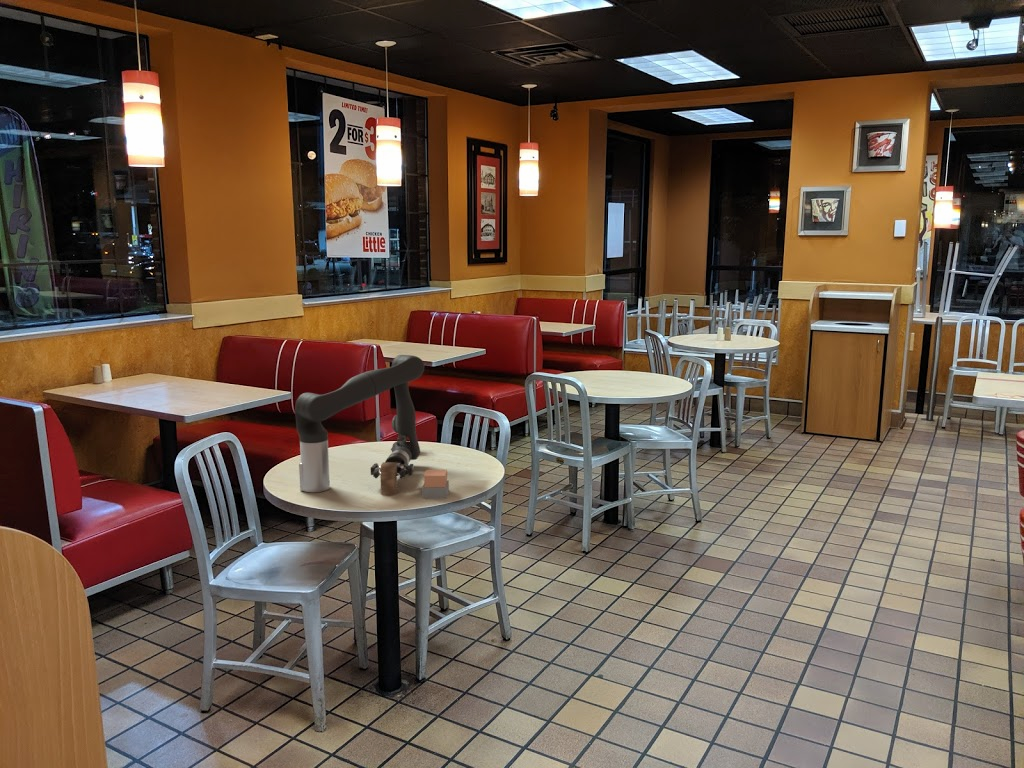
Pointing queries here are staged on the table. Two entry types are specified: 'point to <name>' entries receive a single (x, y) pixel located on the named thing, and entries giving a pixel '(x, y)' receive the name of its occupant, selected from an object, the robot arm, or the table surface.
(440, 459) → the table surface
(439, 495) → the tower base
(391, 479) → the walnut block
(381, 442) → the table surface
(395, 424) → the grey round-topped stand
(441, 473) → the tower top
